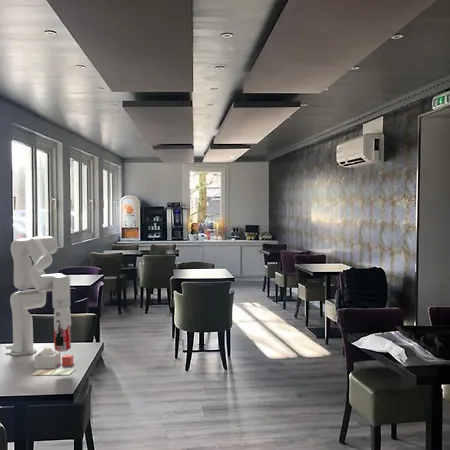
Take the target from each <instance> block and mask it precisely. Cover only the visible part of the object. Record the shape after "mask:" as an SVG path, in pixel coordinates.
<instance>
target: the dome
mask: <svg viewBox="0 0 450 450" xmlns="http://www.w3.org/2000/svg"><path fill="white" fill-rule="evenodd" d="M55 351H56V350H53V348H51V347H49V346H46V347H44V348H43V349H42V352H41V351H40V352H39V353H40V356H53V355H54V354H55Z"/></svg>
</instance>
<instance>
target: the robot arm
mask: <svg viewBox="0 0 450 450" xmlns="http://www.w3.org/2000/svg"><path fill="white" fill-rule="evenodd" d="M58 249H59V244H58V240H57V238H55V237H54V236H52V235H51V236H50V235H48V236H34V237H31V238H18V239H14V240H13V241H12V242H11V244H10V253H11V256H12V260H13V285H14V287H15V289H18V290H19V291H15V292H13V293H12V294H11V295H10V298H9V302H10V307H11V314H12V315H11V316H12V341H13V342H12V344H6V345H5V349H6V350H10V351H9V353H10V355H11V356H27V355H32V354H35V353H36V352H37V347H36V348H35V347H34V328H33V327H34V326H33V322H34V321H33V316H32V315H31V313H30V312H29V311H28V310H30V309H31V310H32V309H37V308H43V307H45V305H46V303H47V292H52V295H51V296H52V298H51V299H52V308H53V330H54V329H55V334H56V335H55V336H56V346H63V345H64V344H63V336H62V335H63V329H64V330H66V329H67V326H68V325H70V327H71V326H72V318H71V317H72V316H71V308H70V307H71V281H70V280H71V279H70V276H69V275H66V274H63V273H47V274H46V272H45V271H44V270H45V269H47V268H48V267H50V266H51V265H52V264H53V259H54V258H53V256H52V255H53V254H55V253H57V252H58ZM23 289H29V290H23ZM68 323H69V324H68ZM59 328H62V329H59ZM60 331H61V333H60Z"/></svg>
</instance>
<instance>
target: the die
mask: <svg viewBox="0 0 450 450" xmlns="http://www.w3.org/2000/svg"><path fill="white" fill-rule="evenodd" d="M73 364H74V355H73V354H65V355H63V356H61V366H62V367H66V366H67V367H69V366H71V367H72V365H73Z"/></svg>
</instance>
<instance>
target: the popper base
mask: <svg viewBox="0 0 450 450" xmlns="http://www.w3.org/2000/svg"><path fill="white" fill-rule="evenodd" d="M42 351H43V350H42ZM42 351H40V352H42ZM54 351H55V354H54V355H53V356H40V352H38V353H37V354H36V355H34V369H55V368H56V367H57V366H58V365H60V364H62V355H61V352H58V351H56V350H54Z"/></svg>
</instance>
